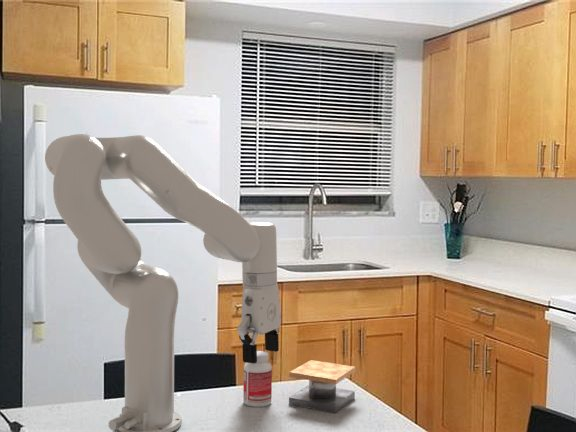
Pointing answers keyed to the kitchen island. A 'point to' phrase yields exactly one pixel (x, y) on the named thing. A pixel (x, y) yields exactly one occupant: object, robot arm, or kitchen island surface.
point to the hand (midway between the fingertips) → (261, 356)
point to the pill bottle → (258, 381)
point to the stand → (322, 386)
